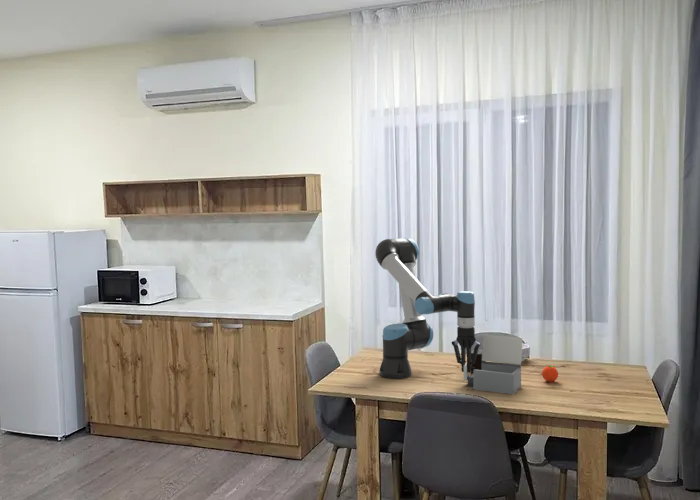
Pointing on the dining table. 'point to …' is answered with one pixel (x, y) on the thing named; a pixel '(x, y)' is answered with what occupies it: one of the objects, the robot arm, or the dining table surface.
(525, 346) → the paper bowls
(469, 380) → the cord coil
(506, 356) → the lid
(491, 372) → the grey box
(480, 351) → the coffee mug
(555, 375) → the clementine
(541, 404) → the dining table surface
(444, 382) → the dining table surface
